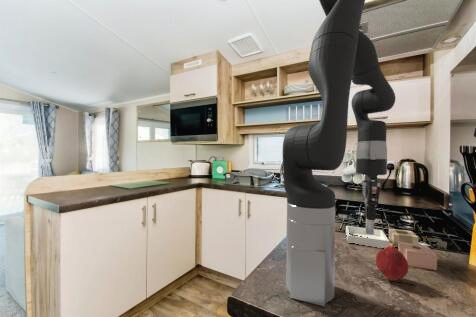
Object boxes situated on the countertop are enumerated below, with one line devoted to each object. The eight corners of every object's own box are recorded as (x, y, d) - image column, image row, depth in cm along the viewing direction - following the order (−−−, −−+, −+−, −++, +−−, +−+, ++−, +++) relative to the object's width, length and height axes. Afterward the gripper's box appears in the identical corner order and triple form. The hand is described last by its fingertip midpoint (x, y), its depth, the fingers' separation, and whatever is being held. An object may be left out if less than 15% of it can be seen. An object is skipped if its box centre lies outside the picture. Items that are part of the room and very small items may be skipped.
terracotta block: (436, 270, 52) (437, 253, 52) (406, 266, 54) (406, 249, 54) (425, 260, 58) (425, 244, 58) (398, 256, 60) (398, 241, 60)
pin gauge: (374, 235, 60) (374, 199, 60) (366, 233, 61) (366, 198, 61) (373, 233, 62) (373, 198, 62) (365, 231, 63) (365, 197, 63)
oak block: (418, 251, 63) (418, 237, 63) (393, 247, 65) (393, 234, 65) (411, 243, 68) (411, 231, 68) (388, 240, 71) (388, 228, 71)
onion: (414, 290, 44) (414, 250, 44) (382, 286, 45) (383, 247, 45) (399, 275, 49) (399, 240, 49) (371, 272, 51) (371, 237, 51)
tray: (389, 249, 64) (389, 241, 64) (347, 243, 68) (347, 235, 68) (381, 237, 74) (381, 230, 74) (345, 232, 78) (345, 225, 78)
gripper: (354, 158, 70) (353, 212, 69) (358, 156, 57) (357, 222, 57) (381, 158, 67) (380, 215, 66) (393, 157, 54) (391, 226, 54)
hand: (370, 218), depth 61 cm, fingers closed on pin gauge, 2 cm apart
